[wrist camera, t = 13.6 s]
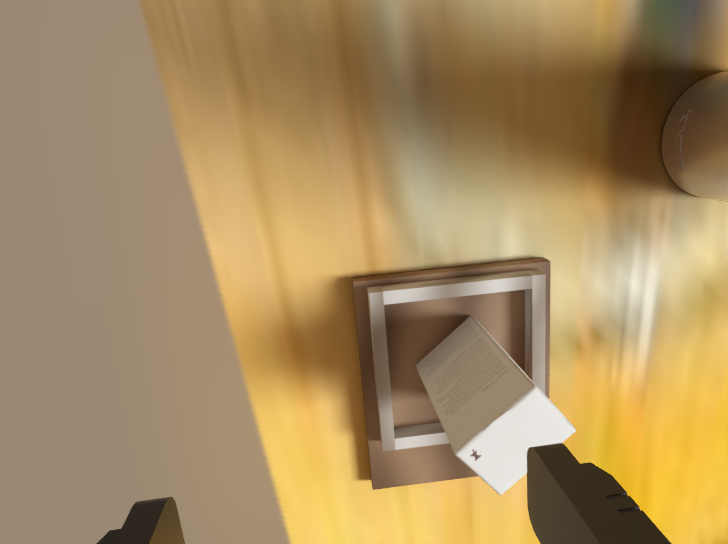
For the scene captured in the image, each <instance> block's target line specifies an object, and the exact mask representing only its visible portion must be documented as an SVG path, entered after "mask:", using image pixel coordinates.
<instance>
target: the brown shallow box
mask: <svg viewBox="0 0 728 544" xmlns="http://www.w3.org/2000/svg"><path fill="white" fill-rule="evenodd" d="M352 282H353V292H354V303H355V313H356V324H357V334H358V345H359V355H360V366H361V376H362V387H363V397H364V408H365V418H366V429H367V439H368V450H369V460H370V471H371V481H372V488H373V490H374V489H382V488H390V487H397V486H405V485H413V484H421V483H428V482H436V481H444V480H451V479H459V478H467V477H474V476H478V475H477V474H476V473H475V472H474V471H473V470H472V469H470V468H469V467H468V466H467V465H466V464H465V463H464V462H462V461H461V460H460V459H459V458H458V457H457V456H456V455H455V454H454V451H453V449H452V447H451V444H450V442H449V439H448V437H447V435H446V433H445V431H444V429H443V426H442V424H441V422H440V420H439V418H438V415H437V413H436V411H435V409H434V406H433V404H432V402H431V400H430V398H429V395H428V393H427V390H426V388H425V386H424V384H423V382H422V380H421V377H420V375H419V373H418V371H417V368H416V364H417V363H419V362H420V361H421V360H422V359H423V358H424V357H425V356H426V355H427V354H429V353H430V352H431V351H432V350H433V349H434V348H435V347H436V346H437V345H439V344H440V343H441V342H442V341H443V340H444V339H445V338H446V337H447V336H449V335H450V334H451V333H452V332H453V331H454V330H455V329H456V328H457V327H458V326H460V325H461V324H462V323H463V322H464V321H465V320H466V319H467V318H468V317H469V316H473V317H474V318H475V319H476V320H477V321H478V322H479V323H480V324H481V325H482V326H483V327H484V328H485V329H486V331H487V332H488V333H489V334H490V335H491V336H492V337H493V338H494V339H495V340H496V341H497V342H498V343H499V345H500V346H501V347H502V348H503V349H504V350H505V351H506V352H507V353H508V355H509V356H510V357H511V358H512V359H513V360H514V361H515V362H516V364H517V365H518V366H519V367H520V368H521V369H522V370H523V371H524V372H525V373H526V375H527V376H528V377H529V378H530V379H531V380H532V381H533V382H534V383H535V384H536V386H537V387H538V388H539V389H540V390H541V391H542V392H543V393H544V394H545V395H546V396H547V397H548V398H549V355H550V261H549V260H547V259H545V258H536V259H526V260H517V261H507V262H498V263H488V264H479V265H469V266H460V267H450V268H441V269H432V270H422V271H413V272H403V273H394V274H384V275H375V276H365V277H356V278H352Z"/></svg>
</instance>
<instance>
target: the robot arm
mask: <svg viewBox="0 0 728 544" xmlns="http://www.w3.org/2000/svg"><path fill="white" fill-rule="evenodd" d="M662 157H663V161H664V165H665V168H666V170H667V172H668V174H669V176H670V178H671V179H672V180H673V181H674V182H675V184H676V185H677V186H678V187H680V188H681V189H683V190H684V191H685V192H687V193H689V194H692V195H695V196H697V197H703V198H709V199H715V200H721V201H727V202H728V71H725V72H719V73H716V74H713V75H710V76H707V77H705V78H703V79H702V80H700V81H698V82H696V83H695V84H694V85H692V86H691V87H690V88H689V89H688V90H686V91H685V92H684V93H683V95H682V96H681V97H680V98H679V99H678V100H677V102H676V103H675V105H674V106H673V108H672V110H671V112H670V113H669V115H668V118H667V121H666V123H665V126H664V130H663V136H662ZM527 498H528V511H529V516H530V520H531V524H532V527H533V529H534V532H535V534H536V536H537V538H538V539H539V541H540V543H541V544H671V543H670V542H669V541H668V539H667V538H666V537H665V536H664V535H663V534H662V532H661V531H660V530H659V529H658V528H657V527H656V526H655V524H654V523H653V522H652V521H651V520H650V519H649V518H648V516H647V515H646V514H645V513H644V512H643V511H640V509H639V506H638V505H637V504H636V503H635V501H634V500H633V499H632V498H631V497H630V496H628V495H627V492H626V491H625V490H624V489H623V488H622V487H621V485H620V484H619V483H618V482H617V481H616V480H615V478H614V477H613V476H612V475H610V474H608V473H607V472H605V471H604V470H602V469H600V468H599V467H597V466H595V465H594V464H592V463H591V462H590V463H583V464H580V463H579V462H578V461H577V460H576V458H575V457H574V456H573V455H572V453H571V452H570V451H569V450H568V448H567V447H566V446H565V445H564V444H562V443H557V444H550V445H543V446H536V447H530V448H529V449H528V451H527ZM97 544H185V542H184V538H183V533H182V529H181V525H180V520H179V515H178V511H177V507H176V503H175V501H174V499H173V498H172V497H167V498H160V499H153V500H145V501H139V502H136V503H135V504H134V505H133V507H132V509H131V511H130V513H129V515H128V517H127V519H126V521H125V523H124V525H123V527H122V529H117V530H110V531H109V532H108V533H107V534H106V535H105V536H104V537H103V538H102V539H101V540H100V541H99V542H98V543H97Z"/></svg>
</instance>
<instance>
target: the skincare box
mask: <svg viewBox="0 0 728 544" xmlns="http://www.w3.org/2000/svg"><path fill="white" fill-rule="evenodd" d="M416 368H417V371H418V373H419V375H420V377H421V380H422V382H423V384H424V386H425V388H426V390H427V393H428V395H429V398H430V400H431V402H432V404H433V406H434V409H435V411H436V413H437V415H438V418H439V420H440V422H441V424H442V426H443V429H444V431H445V433H446V435H447V437H448V439H449V442H450V444H451V447H452V449H453V451H454V454H455V455H456V456H457V457H458V458H459V459H460V460H461V461H462V462H464V463H465V464H466V465H467V466H468V467H469V468H470V469H472V470H473V471H474V472H475V473H476V474H477V475H478V476H479V477H480V478H482V479H483V480H484V481H485V482H486V483H487V484H488V485H489V486H490V487H492V488H493V489H494V490H495V491H496V492H497V493H498V494H500V495H502V494H503V493H504V492H505V491H507V490H508V489H509V488H510V487H511V486H512V485H513V484H515V483H516V482H517V481H518V480H519V479H520V478H522V477H523V476H524V475H525V474H526V473H527V451H528V449H529V448H530V447H536V446H543V445H550V444H557V443H562V442H563V441H565V440H566V439H567V438H568V437H569V436H571V435H572V434H573V433H574V432H575V431H576V429H575V428H574V426H573V425H572V424H571V423H570V422H569V421H568V419H567V418H566V417H565V416H564V415H563V414H562V413H561V412H560V410H559V409H558V408H557V407H556V406H555V405H554V404H553V403H552V402H551V401H550V400H549V398H548V397H547V396H546V395H545V394H544V393H543V392H542V391H541V390H540V389H539V388H538V387H537V386H536V384H535V383H534V382H533V381H532V380H531V379H530V378H529V377H528V376H527V375H526V373H525V372H524V371H523V370H522V369H521V368H520V367H519V366H518V365H517V364H516V362H515V361H514V360H513V359H512V358H511V357H510V356H509V355H508V353H507V352H506V351H505V350H504V349H503V348H502V347H501V346H500V345H499V343H498V342H497V341H496V340H495V339H494V338H493V337H492V336H491V335H490V334H489V333H488V332H487V331H486V329H485V328H484V327H483V326H482V325H481V324H480V323H479V322H478V321H477V320H476V319H475V318H474V317H473V316H469V317H468V318H467V319H466V320H465V321H464V322H463V323H462V324H461V325H460V326H458V327H457V328H456V329H455V330H454V331H453V332H452V333H451V334H450V335H449V336H447V337H446V338H445V339H444V340H443V341H442V342H441V343H440V344H439V345H437V346H436V347H435V348H434V349H433V350H432V351H431V352H430V353H429V354H427V355H426V356H425V357H424V358H423V359H422V360H421V361H420V362H419V363H417V364H416Z"/></svg>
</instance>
